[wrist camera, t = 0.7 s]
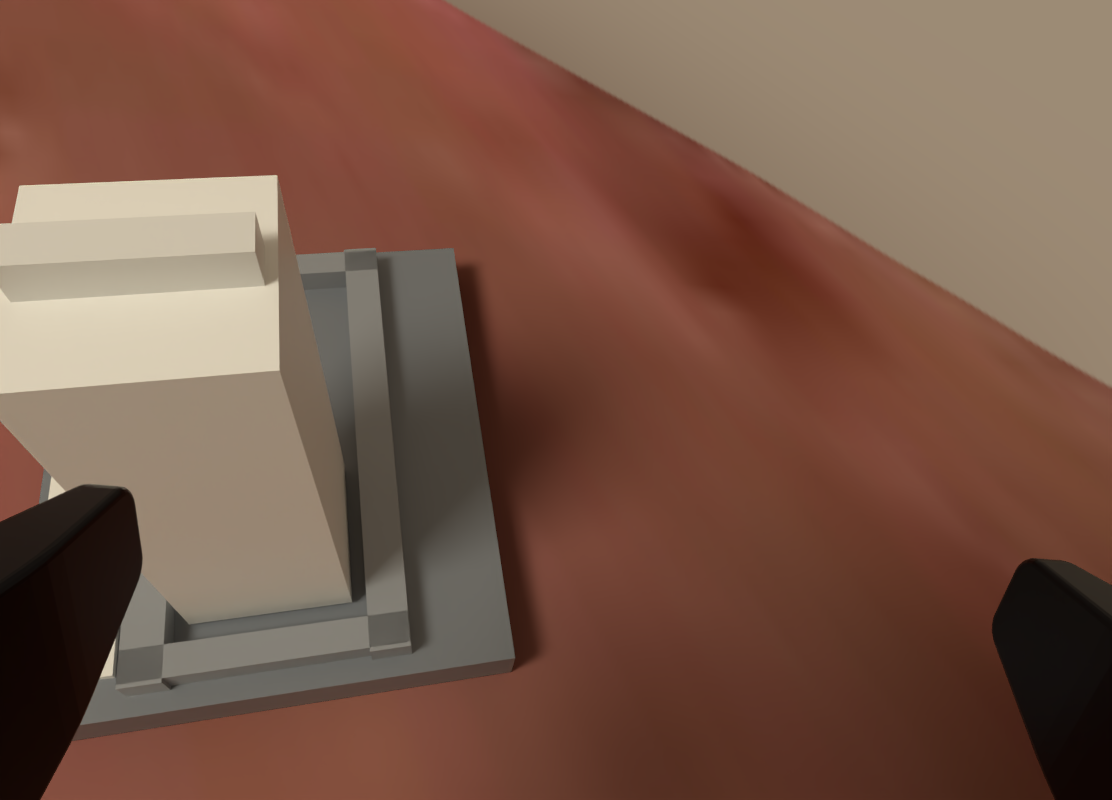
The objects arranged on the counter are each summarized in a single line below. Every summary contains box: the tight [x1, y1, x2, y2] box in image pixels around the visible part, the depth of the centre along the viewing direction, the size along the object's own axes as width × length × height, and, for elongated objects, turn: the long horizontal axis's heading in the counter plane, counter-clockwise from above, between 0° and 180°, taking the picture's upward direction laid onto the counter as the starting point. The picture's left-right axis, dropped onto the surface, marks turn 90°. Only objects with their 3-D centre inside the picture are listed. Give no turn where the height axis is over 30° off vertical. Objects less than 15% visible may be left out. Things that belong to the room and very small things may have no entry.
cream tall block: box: [0, 175, 352, 624], centre depth 17 cm, size 4×4×12 cm
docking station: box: [39, 248, 515, 741], centre depth 24 cm, size 14×12×2 cm
